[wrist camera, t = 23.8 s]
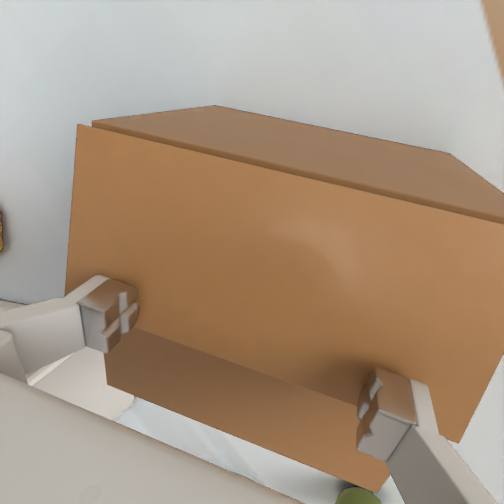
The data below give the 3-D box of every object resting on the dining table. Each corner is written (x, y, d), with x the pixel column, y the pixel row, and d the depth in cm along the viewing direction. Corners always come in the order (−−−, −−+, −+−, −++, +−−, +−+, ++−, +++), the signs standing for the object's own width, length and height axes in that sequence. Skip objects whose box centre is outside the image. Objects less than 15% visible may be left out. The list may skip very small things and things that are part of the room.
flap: (69, 299, 13) (63, 302, 13) (83, 125, 11) (77, 123, 11) (455, 436, 10) (459, 444, 10) (554, 236, 8) (561, 237, 8)
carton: (199, 275, 28) (105, 385, 18) (214, 105, 21) (76, 122, 11) (370, 329, 25) (377, 494, 15) (450, 153, 18) (564, 237, 8)
